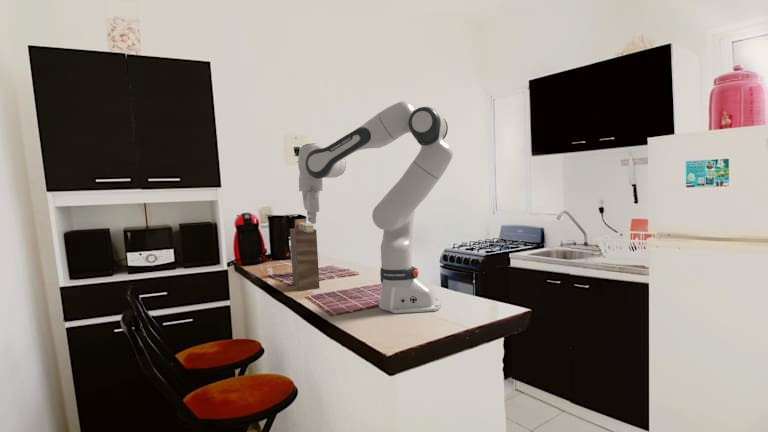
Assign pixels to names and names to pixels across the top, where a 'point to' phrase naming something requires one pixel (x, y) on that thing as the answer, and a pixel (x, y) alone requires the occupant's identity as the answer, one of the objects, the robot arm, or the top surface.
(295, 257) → the stand
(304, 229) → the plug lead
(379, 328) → the top surface
